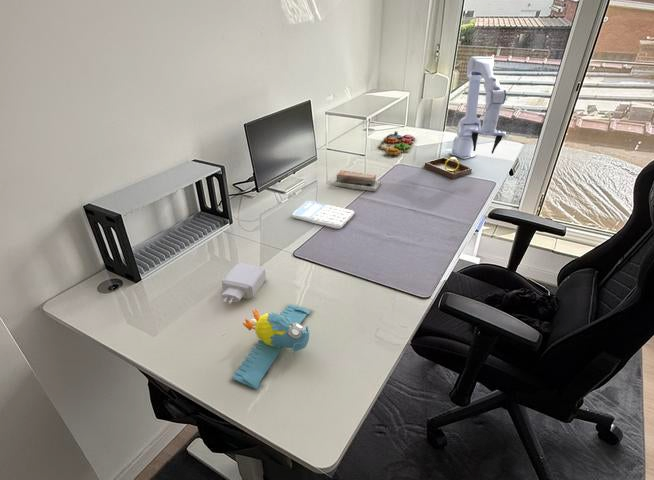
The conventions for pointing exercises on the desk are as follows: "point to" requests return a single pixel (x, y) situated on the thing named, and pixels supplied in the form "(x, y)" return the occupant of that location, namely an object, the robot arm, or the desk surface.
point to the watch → (452, 160)
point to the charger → (242, 282)
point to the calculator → (323, 214)
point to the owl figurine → (272, 341)
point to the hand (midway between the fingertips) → (483, 151)
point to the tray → (448, 167)
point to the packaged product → (357, 180)
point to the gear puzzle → (397, 143)
